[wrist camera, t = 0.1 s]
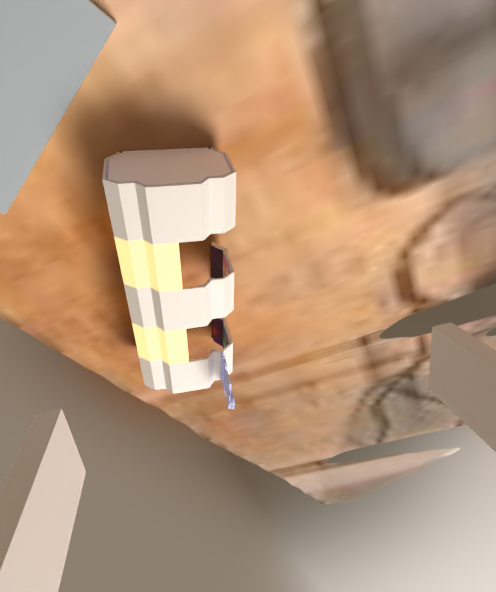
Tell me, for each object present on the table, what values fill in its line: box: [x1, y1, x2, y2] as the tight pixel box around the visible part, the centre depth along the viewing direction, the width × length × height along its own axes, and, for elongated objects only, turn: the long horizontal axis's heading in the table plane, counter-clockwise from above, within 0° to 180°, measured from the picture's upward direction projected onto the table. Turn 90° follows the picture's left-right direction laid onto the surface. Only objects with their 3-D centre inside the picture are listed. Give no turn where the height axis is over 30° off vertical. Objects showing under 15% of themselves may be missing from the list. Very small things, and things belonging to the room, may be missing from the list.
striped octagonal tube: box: [102, 147, 236, 409], centre depth 39 cm, size 25×10×13 cm, turn 178°
